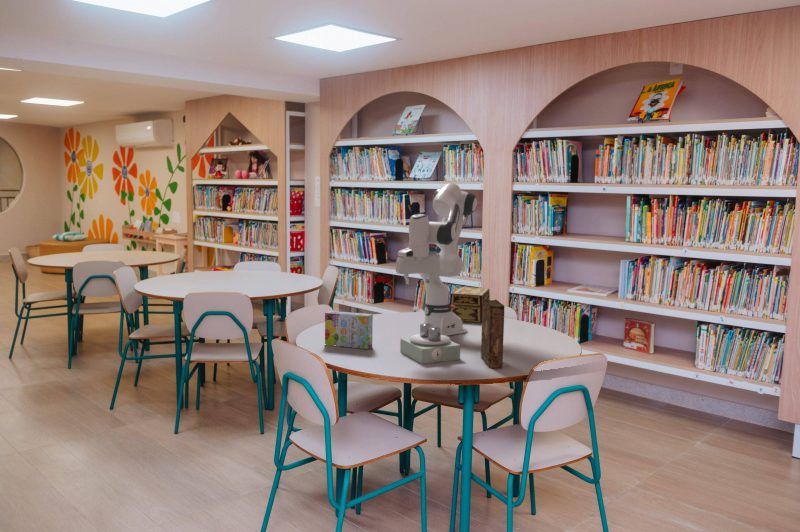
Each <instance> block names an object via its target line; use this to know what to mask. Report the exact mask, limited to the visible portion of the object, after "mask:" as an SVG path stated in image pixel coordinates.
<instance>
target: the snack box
mask: <svg viewBox="0 0 800 532" xmlns="http://www.w3.org/2000/svg"><path fill="white" fill-rule="evenodd" d="M373 315H374V314H373V313H363V312H362V313H361V312H348V311H334V310H330V311H329V310H328V311H326V312H325V313H324V345H325V344H326V345H325V346H328V345H336V346H335V347H339V346H344V347H343V348H349V347H352V349H359V348H360V350H369V349H371V348H372V347H373V326H374V325H373V324H374V323H373V318H374V317H373Z"/></svg>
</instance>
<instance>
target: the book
mask: <svg viewBox="0 0 800 532" xmlns="http://www.w3.org/2000/svg"><path fill="white" fill-rule="evenodd" d="M504 326H505V305H504V304H503V303H502V302H500V300H499V301H498V299H490V300H483V308H482V323H481V341H480V343H481V345H480V347H481V348H480V359H481V360H482V361H483V363H484V364H485V365H486V366H487V368H488V369H492V370H499V369H503V360H504V359H503V357H504V352H503V351H504V334H505V332H504V330H505V327H504Z"/></svg>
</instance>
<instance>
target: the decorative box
mask: <svg viewBox="0 0 800 532" xmlns="http://www.w3.org/2000/svg"><path fill="white" fill-rule="evenodd" d="M490 297H491V296H490V288H487V287H486V288H485V287H484V288H483V287H469V286H459V287H458V288H456V289H454V291H452V292H450V294H449V304H450V305H455V309H451V311H452V312H453V313H454V314H456V315H457V316H458V317H459V318H461V320H462V323H471V324H482V308H483V300H491V298H490Z"/></svg>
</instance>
